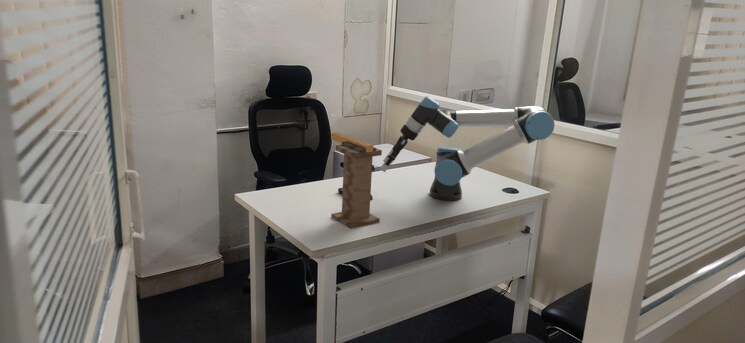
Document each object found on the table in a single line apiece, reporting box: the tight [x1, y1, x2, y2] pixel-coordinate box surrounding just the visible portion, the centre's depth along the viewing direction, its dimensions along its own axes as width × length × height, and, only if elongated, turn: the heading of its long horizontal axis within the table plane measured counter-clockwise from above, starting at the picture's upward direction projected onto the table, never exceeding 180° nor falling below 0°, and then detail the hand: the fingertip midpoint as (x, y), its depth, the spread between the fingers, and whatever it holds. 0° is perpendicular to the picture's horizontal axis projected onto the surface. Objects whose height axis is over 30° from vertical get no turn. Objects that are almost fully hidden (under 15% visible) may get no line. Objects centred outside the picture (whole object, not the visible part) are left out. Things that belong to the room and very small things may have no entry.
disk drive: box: [337, 187, 373, 201], centre depth 247 cm, size 10×3×15 cm
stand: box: [331, 142, 383, 230], centre depth 214 cm, size 14×14×31 cm
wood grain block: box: [330, 132, 374, 152], centre depth 214 cm, size 24×4×2 cm, turn 37°
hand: (383, 166), depth 240 cm, fingers open, 13 cm apart
